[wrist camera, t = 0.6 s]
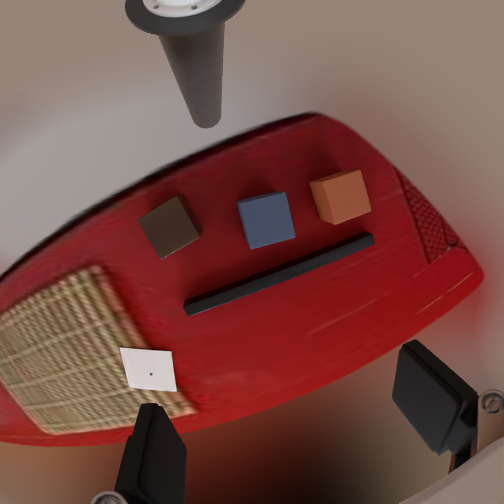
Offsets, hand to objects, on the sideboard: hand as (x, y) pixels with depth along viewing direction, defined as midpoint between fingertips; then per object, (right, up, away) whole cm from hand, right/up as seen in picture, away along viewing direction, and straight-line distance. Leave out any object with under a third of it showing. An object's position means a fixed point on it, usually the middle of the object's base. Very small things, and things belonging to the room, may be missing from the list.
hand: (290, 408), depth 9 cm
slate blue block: (0, +10, +24) cm, 26 cm away
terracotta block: (+9, +13, +25) cm, 29 cm away
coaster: (-17, -12, +28) cm, 35 cm away
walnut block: (-11, +9, +23) cm, 27 cm away
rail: (+2, +3, +26) cm, 27 cm away
